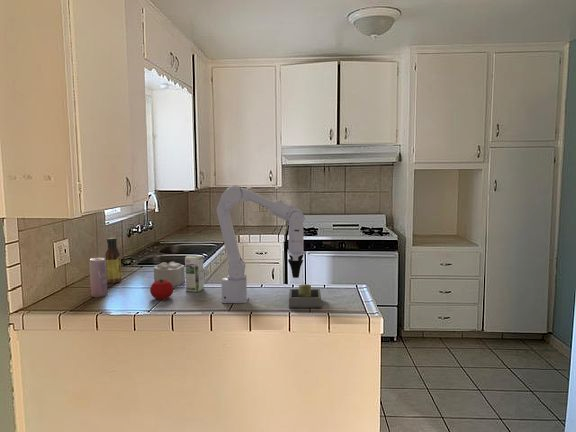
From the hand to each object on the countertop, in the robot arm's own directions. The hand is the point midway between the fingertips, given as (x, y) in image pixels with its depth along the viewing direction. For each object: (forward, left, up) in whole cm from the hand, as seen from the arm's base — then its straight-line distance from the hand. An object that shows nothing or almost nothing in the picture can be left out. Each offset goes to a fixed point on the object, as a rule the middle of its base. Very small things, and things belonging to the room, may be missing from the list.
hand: (296, 275), depth 168 cm
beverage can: (-80, +4, -10) cm, 80 cm away
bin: (+3, -6, -9) cm, 12 cm away
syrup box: (-43, +12, -10) cm, 45 cm away
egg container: (-58, +24, -10) cm, 63 cm away
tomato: (-53, 0, -10) cm, 54 cm away
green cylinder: (+3, -6, -9) cm, 11 cm away
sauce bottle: (-83, +25, -10) cm, 87 cm away
